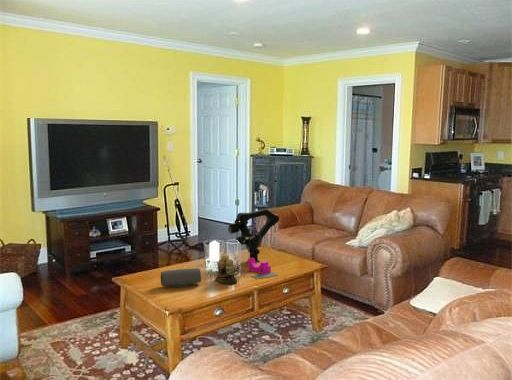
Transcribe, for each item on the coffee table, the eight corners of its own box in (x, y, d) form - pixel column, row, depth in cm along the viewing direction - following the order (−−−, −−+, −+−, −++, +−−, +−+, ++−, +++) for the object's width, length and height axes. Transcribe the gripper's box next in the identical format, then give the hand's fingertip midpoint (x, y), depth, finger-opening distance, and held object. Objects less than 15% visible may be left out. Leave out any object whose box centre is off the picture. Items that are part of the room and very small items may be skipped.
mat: (251, 276, 287) (251, 275, 287) (272, 272, 295) (272, 272, 295) (256, 279, 281) (256, 278, 281) (277, 275, 289) (277, 275, 289)
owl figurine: (242, 283, 273) (242, 256, 271) (226, 287, 266) (226, 259, 264) (227, 275, 287) (227, 249, 285) (211, 278, 281) (211, 252, 278)
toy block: (270, 272, 294) (270, 261, 293) (263, 274, 290) (263, 263, 289) (255, 267, 305) (255, 256, 304) (248, 269, 301) (248, 258, 300)
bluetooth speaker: (197, 281, 275) (197, 265, 274) (201, 286, 267) (201, 270, 265) (160, 285, 268) (160, 269, 266) (162, 290, 259) (162, 273, 258)
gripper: (250, 234, 323) (259, 253, 315) (228, 237, 312) (236, 257, 305) (257, 226, 315) (266, 245, 308) (234, 229, 305) (243, 248, 297)
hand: (252, 249), depth 305 cm, fingers closed
